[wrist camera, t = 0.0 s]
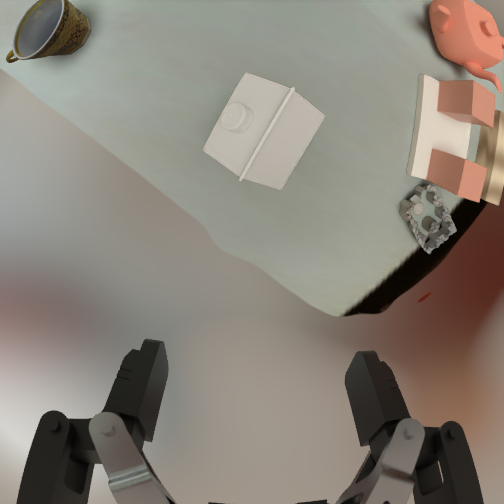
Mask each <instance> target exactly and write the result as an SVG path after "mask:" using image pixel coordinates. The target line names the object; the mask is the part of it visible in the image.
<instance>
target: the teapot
mask: <svg viewBox="0 0 504 504" xmlns="http://www.w3.org/2000/svg"><path fill="white" fill-rule="evenodd" d="M429 18H430V24H431V28H432V32H433V35H434V38H435V41H436V47H437V49H438V50H439V51H440V53H441V55H442V56H443V57H445V58H446V59H448V60H450V61H453V62H455V63H457V64H460V65H462V66H464V67H465V68H466V69H467V71H468V72H469V73H471V74H472V75H473V76H476V77H478V78H482V79H486V80H489V81H491V82H493V83H494V84H495V86H496V87H497V89H498V91H499V92H500V93H501V92H502V89H501V85H500V82H499V80H498V78H497V77H496V76H495V75H494V74H493V73H491V72H487V71H484V70H483V69H486V68H490V67H492V66H494V65H496V64H498V63H499V62H501V61H502V59H503V50H502V49H504V38H503V37H502V36H500V35H499V31H498V29H497V26H496V23H495V21H494V18H493V17H492V15H491V14H490V13H489V12H488V11H487V10H485V9H484V8H482V7H480V6H479V5H477V4H475V3H473V2H471V1H469V0H433V1H432V2H431V4H430V8H429Z"/></svg>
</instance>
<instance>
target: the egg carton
mask: <svg viewBox="0 0 504 504" xmlns="http://www.w3.org/2000/svg"><path fill="white" fill-rule="evenodd" d="M423 190H427V194H426V198H427V200H428V201H429V202H431V203H432V204H434V205H435V206H436V207H435V214H436V215H437V216H438V217H440V218H441V219H442V220H443V221H442V228H441V229H440V230H438V229H439V227H440V224H439V223H438V222H437V221H436V220H434V219H433V218H431V217H430V216H426V217H424V219H423V220H422V227H423V228H424V229H425V230H427V231H428V232H429V233H430V235H429V238H430V240H429V241H428V242H427V243H425V235H423V234H422V233H421V232H419V229H418V224H417V223H418V222H417V221H414V219H413V217H412V215H411V212H410V211H411V208H412V207H413V204H415V205H414V207H413V212H414V214H415V215H420V214H421V213H422V212H423V210H424V206H423V203H421V202H420V200H421V194H422V193H421V192H422V191H423ZM414 191H415V195H414V196H413V197H412V198H410V200H409V201H407V200H405V199H403V200H402V201H401V202H400V204H401V209H400V211H399V213H400V215H401V216H402V218H403V219H405V220H406V221H410V225H409V226H408V227H409V228H410V229H411V231H412V232H413V233H414V234H415V237H416V239H417V241H418V243H419V244H420V245H421V246H422V248H423V249H424V250H425V251H426V252H427V253H428V254H430V253H431V251H432V250H433V249H434V248H438V247H439V245H440V244H441V243H443V242H444V241H445V240H447V239H448V237H449V235H452V234H453V233H455V232H456V228H455V225H454V223H453V221H452V219H451V216H450V215H449V213H450V212H449V210H448V208H447V206H446V204H445V202H444V200H443V197H442V194H441V192H440V191H439V190H438V189H437V188H435V187H433V186H432V185H428V186H424V187H421V186H419V185H418V186H416V187H415V188H414Z"/></svg>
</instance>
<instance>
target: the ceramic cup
mask: <svg viewBox="0 0 504 504" xmlns="http://www.w3.org/2000/svg"><path fill="white" fill-rule="evenodd" d="M90 32H91V27H90V22H89V20H88V18H87V17H86V16H84V15H83V14H82V13H81V12H80V11H79V10H78V9H76V8H75V7H74V6H73V5H72V4H71V3H70V2H69V1H68V0H38V1H36V2H35V3H34V4H33V5H32V6H31V7H30V8H29V9H28V10H27V11H26V13H25V14H24V15H23V17H22V18H21V20H20V22H19V24H18V26H17V28H16V30H15V33H14V37H13V43H12V49H13V50H11V51H10V52H9V54H8V55H7V57H6V61H7V62H8V63H12V62H15V61H17V60H19V59H20V60H27V59H36V58H42V57H47V56H55V55H68V54H71V53H73V52H74V51H76V50H77V49H78V48H80V47H81V46H83V45H84V43H85V41H86V39H87V37H88V35H89V33H90ZM14 55H15V57H16V58H14V59H10V58H11V57H13V56H14Z"/></svg>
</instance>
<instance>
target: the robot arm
mask: <svg viewBox="0 0 504 504" xmlns="http://www.w3.org/2000/svg"><path fill="white" fill-rule="evenodd" d="M167 377H168V360H167V356H166V350H165V346H164V342H163V341H157V340H151V339H145V340H144V342H143V344H142V347H141V349H140V351H139V350H134V349H132V350H131V351H130V352H129V353H128V354H127V355H126V356H125V357H124V360H123V361H122V364H121V366H120V370H119V371H118V374H117V378H116V379H115V381H114V384H113V386H112V389H111V392H110V394H109V397H108V399H107V402H106V405H105V407H104V409H103V411H102V412H101V413H99V414H97V415H95V416H94V417H93V418H90V419H68V418H67V417H66V416H65V415H64V414H63V413H61V412H59V411H49V412H47V413H45V414H44V415H43V416H42V418H41V419H40V422H39V424H38V427H37V430H36V433H35V436H34V439H33V442H32V445H31V448H30V451H29V455H28V458H27V461H26V465H25V468H24V472H23V476H22V481H21V484H20V489H19V493H18V498H17V504H87V503H88V497H89V490H90V485H91V479H92V474H93V469H94V465H95V464H103V467H104V469H105V471H106V473H107V475H108V478H109V483H108V484H109V487H110V490H111V492H112V494H113V496H114V498H115V500H116V502H117V503H118V504H177V503H176V502H175V501H174V499H173V498H172V496H171V495H170V494H169V493H168V491H167V490H166V488H165V487H164V486H163V484H162V483H161V481H160V479H159V478H158V476H157V475H156V473H155V471H154V470H153V468H152V466H151V465H150V463H149V461H148V459H147V458H146V456H145V454H144V452H143V450H142V448H143V444H144V441H149V442H152V440H153V435H154V431H155V426H156V422H157V418H158V413H159V410H160V405H161V401H162V397H163V393H164V389H165V385H166V381H167ZM345 386H346V390H347V394H348V397H349V401H350V405H351V409H352V413H353V416H354V421H355V425H356V429H357V433H358V437H359V442H360V446H367V445H370V449H371V450H370V451H369V452H368V454H367V456H366V458H365V460H364V462H363V464H362V466H361V467H360V469H359V471H358V473H357V475H356V476H355V478H354V480H353V482H352V483H351V485H350V486H349V487H348V488H347V489H346V490H345V491H344V492H343V494H342V495H341V496H340V497H339V499H338V500H337V502H336V503H335V504H406V503H407V501H408V498H409V496H410V494H411V492H412V489H413V495H414V501H415V504H484V503H483V498H482V493H481V489H480V484H479V480H478V477H477V473H476V469H475V466H474V462H473V459H472V455H471V452H470V449H469V446H468V443H467V440H466V437H465V434H464V431H463V429H462V427H461V426H460V425H459V424H458V423H456V422H454V421H448V422H446V423H444V424H443V425H442V426H441V427H440V428H438V427H424V426H423V425H422V424H421V423H420V422H419V421H417V420H415V419H412V418H411V417H410V415H409V412H408V409H407V407H406V404H405V402H404V399H403V397H402V394H401V391H400V389H399V388H398V384H397V382H396V381H395V377H394V374H393V372H392V370H391V369H390V367H389V366H388V365H387V364H386V363H385V362H384V361H382V362H380V360H379V358H378V356H377V353H376V352H375V351H358V352H357V353H356V354H355V356H354V358H353V360H352V362H351V364H350V366H349V368H348V370H347V372H346V375H345ZM438 461H439V463H440V467H441V471H442V475H443V482H442V478H441V474H440V470H439V465H438ZM209 504H222V503H211V502H209ZM297 504H328V503H327V500H319V501H311V502H302V503H297Z"/></svg>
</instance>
